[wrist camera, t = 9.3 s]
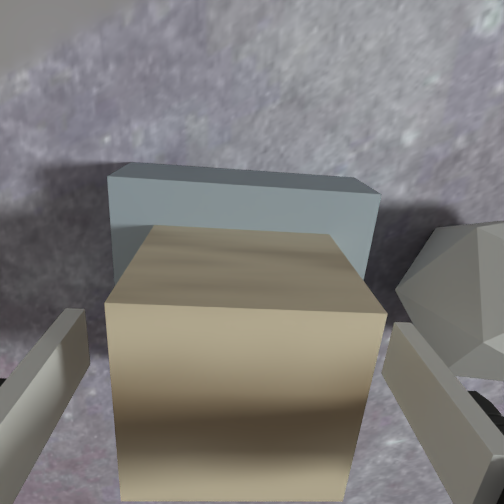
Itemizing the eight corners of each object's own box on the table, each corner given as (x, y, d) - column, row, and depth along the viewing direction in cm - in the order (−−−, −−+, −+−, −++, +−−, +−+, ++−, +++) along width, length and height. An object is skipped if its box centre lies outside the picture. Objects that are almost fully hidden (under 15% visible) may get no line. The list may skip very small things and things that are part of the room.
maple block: (307, 373, 20) (342, 501, 14) (157, 369, 20) (121, 501, 13) (329, 234, 17) (387, 313, 11) (154, 224, 17) (104, 302, 10)
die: (347, 279, 23) (439, 439, 18) (427, 175, 17) (603, 379, 12) (441, 260, 27) (541, 393, 22) (539, 166, 20) (717, 325, 15)
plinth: (322, 357, 25) (338, 402, 21) (139, 351, 24) (121, 397, 20) (354, 177, 20) (381, 194, 17) (131, 162, 19) (107, 176, 16)
